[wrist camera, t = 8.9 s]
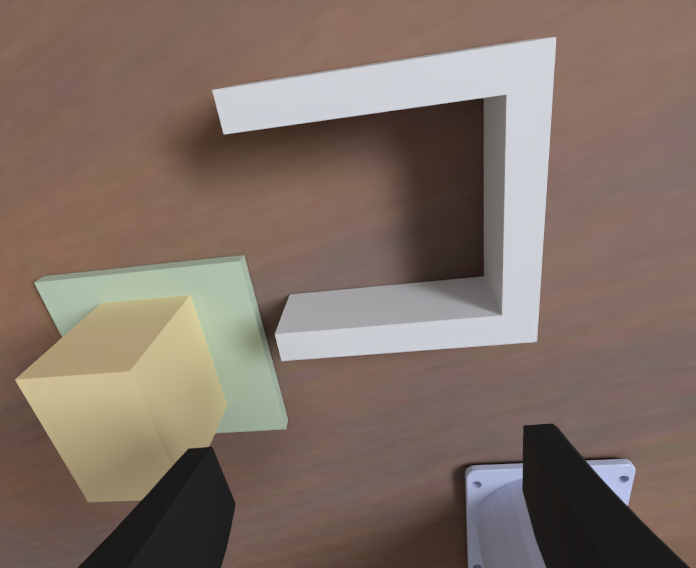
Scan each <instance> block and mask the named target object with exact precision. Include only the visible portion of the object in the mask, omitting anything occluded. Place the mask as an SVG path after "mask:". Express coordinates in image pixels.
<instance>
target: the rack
mask: <svg viewBox="0 0 696 568" xmlns="http://www.w3.org/2000/svg"><path fill="white" fill-rule="evenodd" d="M555 49H556V37H551V38H541V39H531V40H522V41H515V42H509V43H503V44H496V45H490V46H483V47H477V48H470V49H464V50H457V51H451V52H444V53H438V54H432V55H425V56H419V57H412V58H406V59H399V60H393V61H386V62H380V63H373V64H367V65H361V66H354V67H348V68H341V69H335V70H328V71H322V72H315V73H309V74H302V75H296V76H289V77H283V78H277V79H270V80H264V81H257V82H251V83H244V84H239V85H234V86H229V87H225V88H220V89H215V90H212V91H213V95H214V99H215V103H216V106H217V110H218V114H219V118H220V122H221V126H222V130H223V134H231V133H238V132H245V131H252V130H259V129H266V128H273V127H280V126H288V125H295V124H302V123H309V122H316V121H323V120H330V119H337V118H344V117H351V116H358V115H365V114H373V113H380V112H387V111H394V110H401V109H408V108H415V107H422V106H429V105H436V104H443V103H450V102H457V101H465V100H472V99H479V98H484V276H483V277H472V278H461V279H451V280H440V281H429V282H419V283H408V284H397V285H387V286H376V287H365V288H355V289H344V290H333V291H323V292H312V293H301V294H291V295H289V298H288V300H287V303H286V306H285V308H284V311H283V314H282V316H281V319H280V322H279V324H278V327H277V330H276V332H275V337H276V341H277V345H278V349H279V353H280V357H281V361H288V360H301V359H315V358H328V357H341V356H355V355H368V354H381V353H394V352H408V351H421V350H434V349H447V348H461V347H474V346H487V345H501V344H514V343H527V342H537V332H538V317H539V301H540V285H541V269H542V254H543V238H544V222H545V206H546V191H547V175H548V159H549V143H550V128H551V112H552V96H553V80H554V65H555Z"/></svg>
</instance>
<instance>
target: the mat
mask: <svg viewBox="0 0 696 568" xmlns="http://www.w3.org/2000/svg"><path fill="white" fill-rule="evenodd" d="M34 284H35V286H36V288H37V289H38V291H39V293H40V295H41V297H42V299H43V301H44V303H45V305H46V307H47V309H48V311H49V313H50V315H51V317H52V319H53V321H54V322H55V324H56V326H57V328H58V330H59V332H60V334H61V336H62V337H63V336H65V335H66V334H67V333H68V332H69V331H70V330H71V329H72V328H74V327H75V326H76V325H77V324H78V323H79V322H80V321H81V320H83V319H84V318H85V317H86V316H87V315H88V314H89V313H90V312H92V311H93V310H94V309H95V308H96V307H97V306H98V305H99V304H101V303H107V302H118V301H129V300H140V299H151V298H162V297H172V296H183V295H190V296H191V299H192V302H193V305H194V308H195V311H196V314H197V317H198V320H199V323H200V325H201V328H202V331H203V334H204V337H205V340H206V343H207V346H208V349H209V352H210V355H211V358H212V361H213V364H214V367H215V370H216V373H217V376H218V379H219V382H220V385H221V388H222V391H223V394H224V397H225V400H226V403H227V407H226V409H225V412H224V414H223V416H222V419H221V421H220V423H219V425H218V428H217V430H216V432H215V433H227V432H245V431H262V430H280V429H286V427H287V423H288V417H287V414H286V410H285V406H284V402H283V399H282V395H281V391H280V388H279V384H278V380H277V376H276V373H275V369H274V365H273V361H272V358H271V354H270V350H269V346H268V343H267V339H266V335H265V331H264V328H263V324H262V320H261V316H260V313H259V309H258V305H257V301H256V298H255V294H254V290H253V286H252V283H251V279H250V275H249V271H248V268H247V264H246V260H245V256H244V255H239V256H230V257H221V258H211V259H202V260H192V261H183V262H173V263H164V264H155V265H145V266H136V267H126V268H117V269H108V270H98V271H89V272H79V273H70V274H60V275H51V276H43V277H42V278H40V279H39V280H37V281H36V282H34Z"/></svg>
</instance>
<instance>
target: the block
mask: <svg viewBox="0 0 696 568" xmlns="http://www.w3.org/2000/svg"><path fill="white" fill-rule="evenodd" d="M15 381H16V382H17V384H18V386H19V387H20V389H21V391H22V392H23V394H24V396H25V397H26V399H27V401H28V402H29V404H30V406H31V407H32V409H33V411H34V412H35V414H36V416H37V417H38V419H39V421H40V422H41V424H42V426H43V427H44V429H45V431H46V432H47V434H48V436H49V437H50V439H51V441H52V442H53V444H54V446H55V447H56V449H57V451H58V452H59V454H60V456H61V457H62V459H63V461H64V462H65V464H66V466H67V467H68V469H69V471H70V472H71V474H72V476H73V478H74V479H75V481H76V483H77V484H78V486H79V488H80V489H81V491H82V493H83V494H84V496H85V498H86V499H87V501H88V502H109V501H138V500H142V499H143V498H144V497H145V496H146V495H147V494H148V493H149V492H150V490H151V489H152V488H153V487H154V486H155V485H156V484H157V483H158V481H159V480H160V479H161V478H162V477H163V476H164V475H165V474H166V473H167V471H168V470H169V469H170V468H171V467H172V466H173V465H174V464H175V462H176V461H177V460H178V459H179V458H180V457H181V456H182V455H183V454H184V453H185V452H186V451H187V450H188V448H202V447H209V446H210V444H211V441H212V439H213V437H214V435H215V432H216V430H217V428H218V425H219V423H220V421H221V419H222V416H223V414H224V412H225V409H226V407H227V403H226V400H225V397H224V394H223V391H222V388H221V385H220V382H219V379H218V376H217V373H216V370H215V367H214V364H213V361H212V358H211V355H210V352H209V349H208V346H207V343H206V340H205V337H204V334H203V331H202V328H201V325H200V323H199V320H198V317H197V314H196V311H195V308H194V305H193V302H192V299H191V296H190V295H183V296H172V297H162V298H151V299H140V300H129V301H118V302H107V303H101V304H99V305H98V306H97V307H96V308H95V309H94V310H93V311H92V312H90V313H89V314H88V315H87V316H86V317H85V318H84V319H83V320H81V321H80V322H79V323H78V324H77V325H76V326H75V327H74V328H72V329H71V330H70V331H69V332H68V333H67V334H66V335H65V336H63V337H62V338H61V339H60V340H59V341H58V342H57V343H56V344H54V345H53V346H52V347H51V348H50V349H49V350H48V351H47V352H45V353H44V354H43V355H42V356H41V357H40V358H39V359H38V360H36V361H35V362H34V363H33V364H32V365H31V366H30V367H29V368H27V369H26V370H25V371H24V372H23V373H22V374H21V375H20V376H18V377H17V378H16V379H15Z"/></svg>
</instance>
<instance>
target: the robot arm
mask: <svg viewBox="0 0 696 568" xmlns="http://www.w3.org/2000/svg"><path fill="white" fill-rule="evenodd" d="M634 475H635V467H634V465H633V464H632V462H631V461H629V460H627V459H608V460H585V459H584V458H583V457H582V456H581V455H580V453H579V452H578V451H577V450H576V449H575V448H574V446H573V445H572V444H571V443H570V442H569V440H568V439H567V438H566V437H565V436H564V434H563V433H562V432H561V431H560V430H559V428H558V427H557V426H555V425H554V424H540V425H525V426H524V428H523V463H517V464H494V465H474V466H470V467H468V468H467V469H466V471H465V489H466V523H467V558H468V568H690V567H689V566H688V565H687V564H686V563H685V562H683V561H682V560H681V559H680V558H679V557H678V556H677V555H676V554H675V553H674V552H673V551H672V550H671V549H670V548H669V547H668V546H667V545H666V544H665V543H664V542H663V541H662V540H661V539H660V538H658V537H657V536H656V535H655V534H654V533H653V532H652V531H651V530H650V529H649V528H648V527H647V526H646V525H645V524H644V523H643V522H642V521H641V520H640V518H639V517H638V516H637V515H636V514H635V513H634V512H633V511H632V510H631V509H630V508H629V507H628V502H629V498H630V493H631V489H632V484H633V480H634ZM476 481H477V482H476ZM234 509H235V501H234V499H233V496H232V494H231V491H230V489H229V486H228V484H227V482H226V479H225V477H224V474H223V472H222V469H221V467H220V465H219V462H218V460H217V457H216V455H215V452H214V450H213V448H212V447H202V448H188V450H187V451H186V452H185V453H184V454H183V455H182V456H181V457H180V458H179V459H178V460H177V461H176V462H175V464H174V465H173V466H172V467H171V468H170V469H169V470H168V471H167V473H166V474H165V475H164V476H163V477H162V478H161V479H160V480H159V481H158V483H157V484H156V485H155V486H154V487H153V488H152V489H151V490H150V492H149V493H148V494H147V495H146V496H145V497H144V498H143V499H142V500H141V502H140V503H139V504H138V505H137V506H136V507H135V508H134V509H133V510H132V511H131V513H130V514H129V515H128V516H127V517H126V518H125V519H124V520H123V521H122V522H121V523H120V525H119V526H118V527H117V528H116V529H115V530H114V531H113V532H112V533H111V534H110V535H109V536H108V537H107V538H106V539H105V540H104V541H103V542H102V543H101V544H100V545H99V546H98V547H97V549H96V550H95V551H94V552H93V553H92V554H91V555H90V556H89V557H88V558H87V559H86V560H85V561H84V562H83V563H82V564H81V565H80V566H79V567H78V568H221V565H222V562H223V559H224V555H225V552H226V549H227V544H228V539H229V535H230V530H231V525H232V520H233V515H234Z"/></svg>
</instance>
